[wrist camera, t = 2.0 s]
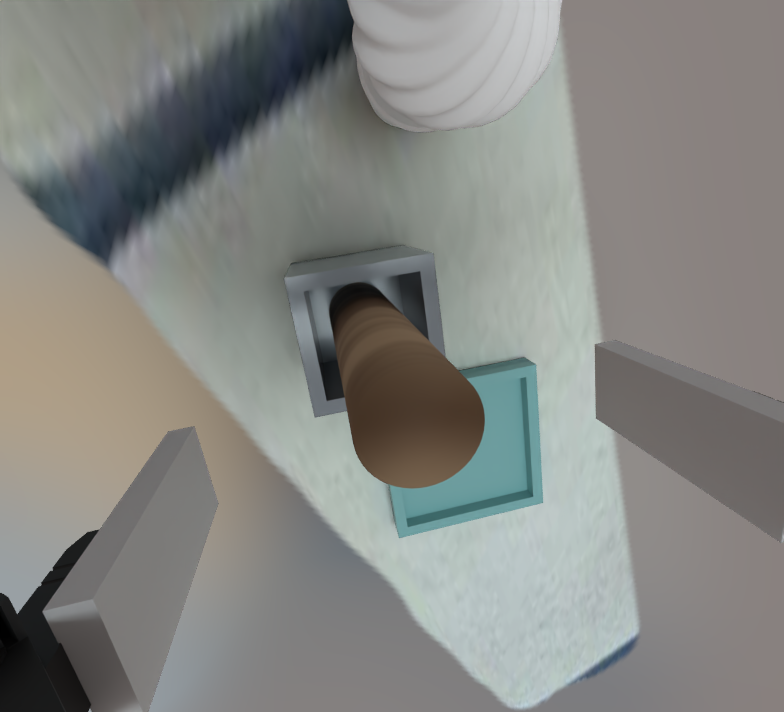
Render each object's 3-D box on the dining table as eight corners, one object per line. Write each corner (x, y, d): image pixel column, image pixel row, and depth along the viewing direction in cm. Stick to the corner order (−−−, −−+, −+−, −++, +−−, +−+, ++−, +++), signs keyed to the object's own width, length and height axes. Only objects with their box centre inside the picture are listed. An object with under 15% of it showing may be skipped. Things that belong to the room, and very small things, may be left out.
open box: (290, 263, 30) (283, 278, 22) (403, 244, 30) (433, 252, 23) (314, 371, 32) (314, 417, 24) (417, 350, 33) (449, 389, 25)
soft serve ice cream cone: (491, 77, 28) (696, -85, 13) (415, 190, 30) (523, 159, 14) (385, -24, 26) (488, -367, 11) (306, 103, 27) (299, -45, 12)
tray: (371, 388, 33) (374, 397, 31) (524, 357, 34) (535, 364, 33) (395, 523, 37) (399, 538, 35) (532, 490, 38) (543, 502, 36)
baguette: (323, 288, 29) (340, 379, 12) (383, 277, 30) (479, 352, 13) (335, 346, 31) (364, 501, 14) (392, 335, 31) (489, 472, 14)
